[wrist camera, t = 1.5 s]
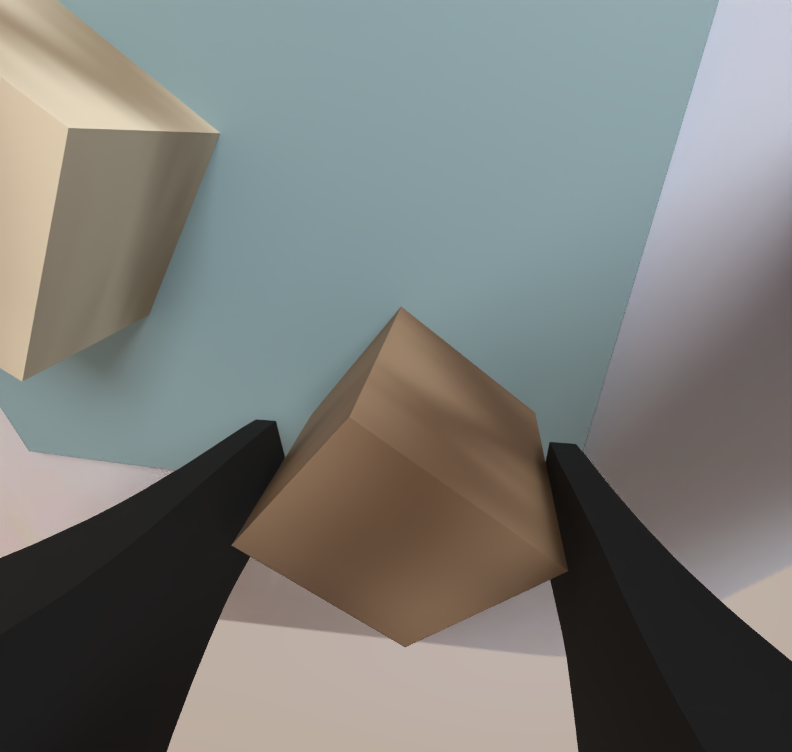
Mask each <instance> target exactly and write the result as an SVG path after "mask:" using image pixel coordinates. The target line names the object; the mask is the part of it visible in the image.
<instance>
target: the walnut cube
mask: <svg viewBox="0 0 792 752" xmlns="http://www.w3.org/2000/svg"><path fill="white" fill-rule="evenodd" d="M232 546H233V547H235V548H237V549H239V550H240V551H242V552H244V553H245V554H247V555H249V556H250V557H252V558H254V559H256V560H257V561H259V562H261V563H262V564H264V565H266V566H268V567H269V568H271V569H273V570H274V571H276V572H278V573H279V574H281V575H283V576H285V577H286V578H288V579H290V580H291V581H293V582H295V583H296V584H298V585H300V586H302V587H303V588H305V589H307V590H308V591H310V592H312V593H313V594H315V595H317V596H319V597H320V598H322V599H324V600H325V601H327V602H329V603H331V604H332V605H334V606H336V607H337V608H339V609H341V610H342V611H344V612H346V613H348V614H349V615H351V616H353V617H354V618H356V619H358V620H359V621H361V622H363V623H365V624H366V625H368V626H370V627H371V628H373V629H375V630H377V631H378V632H380V633H382V634H383V635H385V636H387V637H388V638H390V639H392V640H394V641H395V642H397V643H399V644H400V645H402V646H404V647H407V646H409V645H411V644H413V643H415V642H417V641H420V640H422V639H424V638H426V637H428V636H430V635H432V634H435V633H437V632H439V631H441V630H443V629H445V628H447V627H450V626H452V625H454V624H456V623H458V622H460V621H462V620H465V619H467V618H469V617H471V616H473V615H475V614H477V613H480V612H482V611H484V610H486V609H488V608H490V607H492V606H495V605H497V604H499V603H501V602H503V601H505V600H507V599H509V598H512V597H514V596H516V595H518V594H520V593H522V592H524V591H527V590H529V589H531V588H533V587H535V586H537V585H539V584H542V583H544V582H546V581H548V580H550V579H552V578H554V577H557V576H559V575H561V574H563V573H565V572H567V571H568V567H567V562H566V558H565V553H564V548H563V543H562V538H561V534H560V529H559V524H558V519H557V515H556V510H555V505H554V500H553V495H552V491H551V486H550V481H549V476H548V472H547V467H546V462H545V457H544V452H543V448H542V443H541V438H540V433H539V429H538V424H537V419H536V414H535V412H534V411H532V410H531V409H530V408H529V407H527V406H526V405H525V404H524V403H522V402H521V401H520V400H519V399H517V398H516V397H515V396H514V395H512V394H511V393H510V392H508V391H507V390H506V389H505V388H503V387H502V386H501V385H500V384H498V383H497V382H496V381H495V380H493V379H492V378H491V377H490V376H488V375H487V374H486V373H485V372H483V371H482V370H481V369H479V368H478V367H477V366H476V365H474V364H473V363H472V362H471V361H469V360H468V359H467V358H466V357H464V356H463V355H462V354H461V353H459V352H458V351H457V350H456V349H454V348H453V347H452V346H451V345H449V344H448V343H447V342H445V341H444V340H443V339H442V338H440V337H439V336H438V335H437V334H435V333H434V332H433V331H432V330H430V329H429V328H428V327H427V326H425V325H424V324H423V323H422V322H420V321H419V320H418V319H416V318H415V317H414V316H413V315H411V314H410V313H409V312H408V311H406V310H405V309H404V308H403V307H400V309H399V310H398V311H397V312H396V313H395V315H394V316H393V317H392V318H391V319H390V321H389V322H388V323H387V324H386V325H385V327H384V328H383V329H382V330H381V331H380V333H379V334H378V335H377V336H376V337H375V339H374V340H373V341H372V342H371V343H370V345H369V346H368V347H367V348H366V349H365V351H364V352H363V353H362V354H361V355H360V357H359V358H358V359H357V360H356V362H355V363H354V364H353V365H352V366H351V368H350V369H349V370H348V371H347V372H346V374H345V375H344V376H343V377H342V378H341V380H340V381H339V382H338V383H337V384H336V386H335V387H334V388H333V389H332V390H331V392H330V393H329V394H328V395H327V396H326V398H325V399H324V400H323V401H322V402H321V404H320V405H319V406H318V407H317V408H316V410H315V411H314V412H313V413H312V414H311V416H310V418H309V419H308V421H307V423H306V424H305V426H304V428H303V429H302V431H301V432H300V434H299V436H298V437H297V439H296V441H295V442H294V444H293V445H292V447H291V449H290V450H289V452H288V454H287V455H286V457H285V459H284V460H283V462H282V463H281V465H280V467H279V468H278V470H277V472H276V473H275V475H274V477H273V478H272V480H271V481H270V483H269V485H268V486H267V488H266V490H265V491H264V493H263V494H262V496H261V498H260V499H259V501H258V503H257V504H256V506H255V507H254V509H253V511H252V512H251V514H250V516H249V517H248V519H247V521H246V522H245V524H244V525H243V527H242V529H241V530H240V532H239V534H238V535H237V537H236V539H235V540H234V542H233V543H232Z"/></svg>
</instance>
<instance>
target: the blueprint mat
mask: <svg viewBox="0 0 792 752" xmlns="http://www.w3.org/2000/svg"><path fill="white" fill-rule="evenodd" d="M57 1H59V2H60V3H61V4H62V5H64V6H65V7H66V8H67V9H68V10H70V11H71V12H72V13H73V14H75V15H76V16H77V17H78V18H80V19H81V20H82V21H83V22H84V23H86V24H87V25H88V26H89V27H91V28H92V29H93V30H94V31H95V32H97V33H98V34H99V35H100V36H102V37H103V38H104V39H105V40H107V41H108V42H109V43H110V44H111V45H113V46H114V47H115V48H116V49H118V50H119V51H120V52H121V53H122V54H124V55H125V56H126V57H127V58H129V59H130V60H131V61H132V62H134V63H135V64H136V65H137V66H138V67H140V68H141V69H142V70H143V71H145V72H146V73H147V74H148V75H149V76H151V77H152V78H153V79H154V80H156V81H157V82H158V83H159V84H161V85H162V86H163V87H164V88H165V89H167V90H168V91H169V92H170V93H172V94H173V95H174V96H175V97H177V98H178V99H179V100H180V101H181V102H183V103H184V104H185V105H186V106H188V107H189V108H190V109H191V110H192V111H194V112H195V113H196V114H197V115H199V116H200V117H201V118H202V119H204V120H205V121H206V122H207V123H208V124H210V125H211V126H212V127H213V128H215V129H216V130H217V131H218V132H219V133H220V135H219V138H218V140H217V143H216V145H215V148H214V150H213V153H212V156H211V158H210V161H209V163H208V166H207V168H206V171H205V173H204V176H203V179H202V181H201V184H200V186H199V189H198V191H197V194H196V196H195V199H194V202H193V204H192V207H191V209H190V212H189V214H188V217H187V219H186V222H185V225H184V227H183V230H182V232H181V235H180V237H179V240H178V242H177V245H176V248H175V250H174V253H173V255H172V258H171V260H170V263H169V265H168V268H167V271H166V273H165V276H164V278H163V281H162V283H161V286H160V288H159V291H158V294H157V296H156V299H155V301H154V304H153V306H152V309H151V311H150V314H149V315H148V316H146V317H144V318H142V319H140V320H138V321H137V322H135V323H133V324H131V325H129V326H127V327H125V328H123V329H121V330H119V331H118V332H116V333H114V334H112V335H110V336H108V337H106V338H104V339H102V340H100V341H98V342H97V343H95V344H93V345H91V346H89V347H87V348H85V349H83V350H81V351H79V352H78V353H76V354H74V355H72V356H70V357H68V358H66V359H64V360H62V361H60V362H58V363H57V364H55V365H53V366H51V367H49V368H47V369H45V370H43V371H41V372H39V373H38V374H36V375H34V376H32V377H30V378H28V379H26V380H24V381H20V380H19V379H17V378H16V377H14V376H12V375H11V374H9V373H7V372H6V371H4V370H2V369H1V368H0V407H1V409H2V410H3V412H4V413H5V415H6V416H7V418H8V420H9V421H10V423H11V424H12V426H13V427H14V429H15V430H16V432H17V433H18V435H19V436H20V438H21V440H22V441H23V443H24V444H25V446H26V447H27V449H28V450H29V451H32V452H39V453H47V454H55V455H62V456H70V457H77V458H85V459H93V460H100V461H108V462H115V463H123V464H131V465H138V466H146V467H154V468H161V469H169V470H177V469H179V468H181V467H182V466H184V465H186V464H187V463H189V462H190V461H192V460H193V459H195V458H196V457H198V456H199V455H201V454H202V453H204V452H206V451H207V450H209V449H210V448H212V447H213V446H215V445H216V444H218V443H219V442H221V441H222V440H224V439H225V438H227V437H228V436H230V435H231V434H233V433H234V432H236V431H238V430H239V429H241V428H242V427H244V426H245V425H247V424H249V423H250V422H252V421H254V420H256V419H258V420H271V421H276V423H277V427H278V431H279V435H280V439H281V443H282V447H283V451H284V455H285V457H286V455H287V454H288V452H289V450H290V449H291V447H292V445H293V444H294V442H295V441H296V439H297V437H298V436H299V434H300V432H301V431H302V429H303V428H304V426H305V424H306V423H307V421H308V419H309V418H310V416H311V414H312V413H313V412H314V411H315V410H316V408H317V407H318V406H319V405H320V404H321V402H322V401H323V400H324V399H325V398H326V396H327V395H328V394H329V393H330V392H331V390H332V389H333V388H334V387H335V386H336V384H337V383H338V382H339V381H340V380H341V378H342V377H343V376H344V375H345V374H346V372H347V371H348V370H349V369H350V368H351V366H352V365H353V364H354V363H355V362H356V360H357V359H358V358H359V357H360V355H361V354H362V353H363V352H364V351H365V349H366V348H367V347H368V346H369V345H370V343H371V342H372V341H373V340H374V339H375V337H376V336H377V335H378V334H379V333H380V331H381V330H382V329H383V328H384V327H385V325H386V324H387V323H388V322H389V321H390V319H391V318H392V317H393V316H394V315H395V313H396V312H397V311H398V310H399V309H400V307H403V308H404V309H405V310H406V311H408V312H409V313H410V314H411V315H413V316H414V317H415V318H416V319H418V320H419V321H420V322H422V323H423V324H424V325H425V326H427V327H428V328H429V329H430V330H432V331H433V332H434V333H435V334H437V335H438V336H439V337H440V338H442V339H443V340H444V341H445V342H447V343H448V344H449V345H451V346H452V347H453V348H454V349H456V350H457V351H458V352H459V353H461V354H462V355H463V356H464V357H466V358H467V359H468V360H469V361H471V362H472V363H473V364H474V365H476V366H477V367H478V368H479V369H481V370H482V371H483V372H485V373H486V374H487V375H488V376H490V377H491V378H492V379H493V380H495V381H496V382H497V383H498V384H500V385H501V386H502V387H503V388H505V389H506V390H507V391H508V392H510V393H511V394H512V395H514V396H515V397H516V398H517V399H519V400H520V401H521V402H522V403H524V404H525V405H526V406H527V407H529V408H530V409H531V410H532V411H534V412H535V414H536V419H537V424H538V429H539V433H540V438H541V443H542V448H543V452H544V457H545V462H546V457H547V452H548V447H549V442H558V443H571V444H576V445H577V446H578V447H579V448H580V449H581V450H582V452H583V449H584V446H585V442H586V439H587V436H588V432H589V429H590V426H591V423H592V419H593V416H594V413H595V409H596V406H597V403H598V399H599V396H600V393H601V389H602V386H603V383H604V379H605V376H606V373H607V370H608V366H609V363H610V360H611V356H612V353H613V350H614V346H615V343H616V340H617V336H618V333H619V330H620V326H621V323H622V320H623V317H624V313H625V310H626V307H627V303H628V300H629V297H630V293H631V290H632V287H633V283H634V280H635V277H636V273H637V270H638V267H639V264H640V260H641V257H642V254H643V250H644V247H645V244H646V240H647V237H648V234H649V230H650V227H651V224H652V220H653V217H654V214H655V211H656V207H657V204H658V201H659V197H660V194H661V191H662V187H663V184H664V181H665V177H666V174H667V171H668V167H669V164H670V161H671V158H672V154H673V151H674V148H675V144H676V141H677V138H678V134H679V131H680V128H681V124H682V121H683V118H684V114H685V111H686V108H687V105H688V101H689V98H690V95H691V91H692V88H693V85H694V81H695V78H696V75H697V71H698V68H699V65H700V61H701V58H702V55H703V52H704V48H705V45H706V42H707V38H708V35H709V32H710V28H711V25H712V22H713V18H714V15H715V12H716V8H717V5H718V2H719V0H57Z"/></svg>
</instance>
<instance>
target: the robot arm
mask: <svg viewBox="0 0 792 752" xmlns="http://www.w3.org/2000/svg"><path fill="white" fill-rule="evenodd" d="M284 459H285V455H284V451H283V447H282V443H281V439H280V435H279V431H278V427H277V423H276V421H271V420H258V419H256V420H254V421H252V422H250V423H249V424H247V425H245V426H244V427H242V428H241V429H239V430H238V431H236V432H234V433H233V434H231V435H230V436H228V437H227V438H225V439H224V440H222V441H221V442H219V443H218V444H216V445H215V446H213V447H212V448H210V449H209V450H207V451H206V452H204V453H202V454H201V455H199V456H198V457H196V458H195V459H193V460H192V461H190V462H189V463H187V464H186V465H184V466H182V467H181V468H179V469H177V470H176V471H174V472H172V473H171V474H169V475H168V476H166V477H164V478H163V479H161V480H159V481H158V482H156V483H154V484H153V485H151V486H149V487H148V488H146V489H144V490H143V491H141V492H139V493H137V494H136V495H134V496H132V497H130V498H128V499H126V500H125V501H123V502H121V503H119V504H117V505H115V506H113V507H111V508H109V509H108V510H106V511H104V512H102V513H100V514H98V515H96V516H94V517H92V518H90V519H88V520H86V521H84V522H81V523H79V524H77V525H75V526H73V527H70V528H68V529H66V530H64V531H62V532H60V533H57V534H55V535H53V536H51V537H49V538H46V539H44V540H42V541H40V542H38V543H35V544H33V545H31V546H28V547H26V548H24V549H21V550H19V551H16V552H14V553H12V554H9V555H7V556H4V557H2V558H0V752H167V749H168V746H169V743H170V740H171V737H172V734H173V732H174V729H175V726H176V724H177V721H178V719H179V716H180V713H181V711H182V708H183V705H184V702H185V700H186V697H187V695H188V692H189V689H190V687H191V684H192V682H193V679H194V677H195V674H196V672H197V669H198V667H199V664H200V662H201V659H202V657H203V655H204V652H205V650H206V647H207V645H208V642H209V640H210V637H211V635H212V633H213V631H214V628H215V626H216V624H217V621H218V619H219V617H220V615H221V612H222V610H223V608H224V605H225V603H226V601H227V599H228V597H229V595H230V593H231V591H232V589H233V587H234V585H235V583H236V581H237V580H238V578H239V576H240V574H241V572H242V571H243V569H244V567H245V565H246V563H247V561H248V560H249V558H250V556H249V555H247V554H245V553H244V552H242V551H240V550H239V549H237V548H235V547H233V546H232V543H233V542H234V540H235V539H236V537H237V535H238V534H239V532H240V530H241V529H242V527H243V525H244V524H245V522H246V521H247V519H248V517H249V516H250V514H251V512H252V511H253V509H254V507H255V506H256V504H257V503H258V501H259V499H260V498H261V496H262V494H263V493H264V491H265V490H266V488H267V486H268V485H269V483H270V481H271V480H272V478H273V477H274V475H275V473H276V472H277V470H278V468H279V467H280V465H281V463H282V462H283V460H284ZM546 467H547V472H548V476H549V481H550V486H551V491H552V495H553V500H554V505H555V510H556V515H557V519H558V524H559V529H560V534H561V538H562V543H563V548H564V553H565V558H566V562H567V567H568V571H567V572H565V573H563V574H561V575H559V576H557V577H554V578H552V579H550V580H551V585H552V589H553V594H554V598H555V603H556V607H557V612H558V616H559V621H560V625H561V630H562V634H563V640H564V645H565V651H566V656H567V663H568V671H569V678H570V686H571V694H572V701H573V709H574V717H575V726H576V735H577V743H578V751H579V752H792V661H791V660H789V659H788V658H787V657H786V656H785V655H783V654H782V653H781V652H780V651H779V650H777V649H776V648H775V647H774V646H773V645H771V644H770V643H769V642H768V641H767V640H765V639H764V638H763V637H762V636H761V635H759V634H758V633H757V632H756V631H755V630H753V629H752V628H751V627H750V626H749V625H747V624H746V623H745V622H744V621H743V620H742V619H740V618H739V617H738V616H737V615H736V614H735V613H734V612H732V611H731V610H730V609H729V608H728V607H726V606H725V605H724V604H723V603H722V602H721V601H720V600H719V599H718V598H717V597H716V596H715V595H714V594H712V593H711V592H710V591H709V590H708V589H707V588H706V587H705V586H704V585H703V584H702V583H701V582H699V581H698V580H697V579H696V578H695V577H694V576H693V575H692V574H691V573H690V572H689V571H688V570H687V569H686V568H685V567H684V566H683V565H681V564H680V563H679V562H678V561H677V560H676V559H675V558H674V557H673V556H672V555H671V553H670V552H669V551H668V550H667V549H666V548H665V547H664V546H663V545H662V544H661V543H660V542H659V541H658V540H657V539H656V538H655V537H654V536H653V535H652V534H651V532H650V531H649V530H648V529H647V528H646V527H645V526H644V525H643V524H642V523H641V522H640V520H639V519H638V518H637V517H636V516H635V515H634V514H633V512H632V511H631V510H630V509H629V508H628V507H627V506H626V504H625V503H624V502H623V501H622V500H621V499H620V497H619V496H618V495H617V494H616V493H615V492H614V490H613V489H612V488H611V487H610V485H609V484H608V483H607V482H606V481H605V479H604V478H603V477H602V476H601V474H600V473H599V472H598V471H597V469H596V468H595V467H594V466H593V464H592V463H591V462H590V461H589V459H588V458H587V457H586V455H585V454H584V453H583V452H582V450H581V449H580V448H579V447H578V446H577V445H576V444H571V443H558V442H549V447H548V452H547V457H546Z"/></svg>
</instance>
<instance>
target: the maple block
mask: <svg viewBox="0 0 792 752" xmlns="http://www.w3.org/2000/svg"><path fill="white" fill-rule="evenodd" d="M219 135H220V133H219V132H218V131H217V130H216V129H215V128H213V127H212V126H211V125H210V124H208V123H207V122H206V121H205V120H204V119H202V118H201V117H200V116H199V115H197V114H196V113H195V112H194V111H192V110H191V109H190V108H189V107H188V106H186V105H185V104H184V103H183V102H181V101H180V100H179V99H178V98H177V97H175V96H174V95H173V94H172V93H170V92H169V91H168V90H167V89H165V88H164V87H163V86H162V85H161V84H159V83H158V82H157V81H156V80H154V79H153V78H152V77H151V76H149V75H148V74H147V73H146V72H145V71H143V70H142V69H141V68H140V67H138V66H137V65H136V64H135V63H134V62H132V61H131V60H130V59H129V58H127V57H126V56H125V55H124V54H122V53H121V52H120V51H119V50H118V49H116V48H115V47H114V46H113V45H111V44H110V43H109V42H108V41H107V40H105V39H104V38H103V37H102V36H100V35H99V34H98V33H97V32H95V31H94V30H93V29H92V28H91V27H89V26H88V25H87V24H86V23H84V22H83V21H82V20H81V19H80V18H78V17H77V16H76V15H75V14H73V13H72V12H71V11H70V10H68V9H67V8H66V7H65V6H64V5H62V4H61V3H60V2H59V1H57V0H0V368H1V369H2V370H4V371H6V372H7V373H9V374H11V375H12V376H14V377H16V378H17V379H19V380H20V381H24V380H26V379H28V378H30V377H32V376H34V375H36V374H38V373H39V372H41V371H43V370H45V369H47V368H49V367H51V366H53V365H55V364H57V363H58V362H60V361H62V360H64V359H66V358H68V357H70V356H72V355H74V354H76V353H78V352H79V351H81V350H83V349H85V348H87V347H89V346H91V345H93V344H95V343H97V342H98V341H100V340H102V339H104V338H106V337H108V336H110V335H112V334H114V333H116V332H118V331H119V330H121V329H123V328H125V327H127V326H129V325H131V324H133V323H135V322H137V321H138V320H140V319H142V318H144V317H146V316H148V315H149V314H150V311H151V309H152V306H153V304H154V301H155V299H156V296H157V294H158V291H159V288H160V286H161V283H162V281H163V278H164V276H165V273H166V271H167V268H168V265H169V263H170V260H171V258H172V255H173V253H174V250H175V248H176V245H177V242H178V240H179V237H180V235H181V232H182V230H183V227H184V225H185V222H186V219H187V217H188V214H189V212H190V209H191V207H192V204H193V202H194V199H195V196H196V194H197V191H198V189H199V186H200V184H201V181H202V179H203V176H204V173H205V171H206V168H207V166H208V163H209V161H210V158H211V156H212V153H213V150H214V148H215V145H216V143H217V140H218V138H219Z"/></svg>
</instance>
